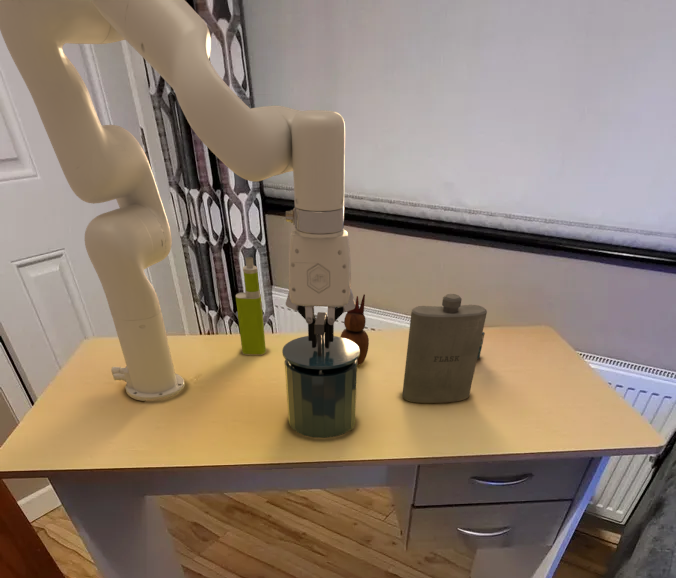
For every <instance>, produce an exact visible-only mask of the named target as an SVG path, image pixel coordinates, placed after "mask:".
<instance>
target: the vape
mask: <svg viewBox="0 0 676 578" xmlns="http://www.w3.org/2000/svg"><path fill="white" fill-rule="evenodd" d="M258 270H259V269H258V266H257V265H254V258H253V257H252V256H248V257H247V256H246V257H245V265H244V266H242V271H243V280H244V281H243V282H244V288H245V290H244V292H237V293H236V294H235V303H236V311H237V319H238V320H237V321H238V327H239V335H240V343H241V344H240V345H241V352H242V354H243V355H245V356H248V355H249V356H263V355H265V354H266V353H267V349H266V347H267V346H266V337H265V325H264V315H263V301H262V294H261V291H260V283H259V273H258Z"/></svg>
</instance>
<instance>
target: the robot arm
mask: <svg viewBox="0 0 676 578" xmlns="http://www.w3.org/2000/svg"><path fill="white" fill-rule="evenodd" d="M0 34H1V36H2V38H3V41H4V43H5V46H6V48H7V51H8V52H9V54H10V57H11V59H12V60H13V62H14V64H15V67H16V68H17V70H18V72H19V74H20V76H21V78H22V79H23V81H24V84H25V85H26V87H27V90H28V91H29V93H30V95H31V98H32V100H33V102H34V105H35V108H36V111H37V112H38V115H39V117H40V120H41V122H42V125H43V127H44V129H45V132H46V134H47V138H48V139H49V141H50V144H51V146H52V149H53V151H54V154H55V156H56V158H57V161H58V164H59V165H60V168H61V170H62V172H63V175H64V177H65V180H66V182H67V183H68V185H69V187H70V189H71V190H72V192H73V194H74V195H75V196H76V197H78V198H79V199H80V200H81V201H82V202H85V203H88V204H101V203H102V204H103V203H107V202H110V201H113V200H116V203H117V205H118V207H119V208H115V209H113V210H110V211H106V212H103V213H100V214H99V215H97V216H95V217H94V218H92V219H91V220H90V221H89V222H88V225H87V226H86V229H85V231H84V232H85V233H84V246H85V249H86V252H87V255H88V258H89V260H90V262H91V264H92V266H93V268H94V271H95V272H96V274H97V277H98V279H99V281H100V284H101V287H102V289H103V292H104V295H105V298H106V301H107V304H108V308H109V311H110V315H111V317H112V321H113V324H114V328H115V332H116V334H117V339H118V342H119V345H120V348H121V352H122V356H123V358H124V359H123V360H124V362H125V365H126V366H125V367H121V366H112V367H111V369H110V370H111V374H112V377H113V380H114V381H124V382H126V384H125V386H124V387H125V391H126V392H125V393H126V394H127V396H128V397H130V398H132V399H134V400H136V401H140V402H146V401H155V400H163V399H167V398H170V397H173V396H175V395H177V394H179V393H180V392H182V391H183V390H184V388H185V385H186V383H185V379H184V378H183V377H182V376H181V375H180V374H178V373H176V371H175V366H174V362H173V358H172V353H171V349H170V344H169V340H168V335H167V331H166V326H165V321H164V317H163V313H162V309H161V305H160V300H159V297H158V294H157V292H156V289H155V288H154V286H153V284H152V283H151V282H150V280H149V278H148V277H147V275H146V273H145V270H146V269H147V268H150V267H151V266H154V265H156V264H158V263H160V262H162V261H163V260H165V259H166V258H167V257H168V256H169V254H170V252H171V249H172V245H173V244H172V241H173V239H172V232H171V227H170V224H169V220H168V219H169V218H168V217H167V213H166V210H165V208H164V204H163V201H162V197H161V195H160V192H159V188H158V186H157V182H156V179H155V176H154V173H153V169H152V167H151V165H150V161H149V159H148V156H147V154H146V152H145V150H144V149H143V147H142V145H141V144H140V142H139V141H138V139H137V138H136V137H135V136H134V135H133V134H132V133H131V132H130V131H129V130H127V129H126V128H124V127H123V126H121V125H116V124H104V125H102V123H101V121H100V119H99V117H98V113H97V110H96V108H95V106H94V102H93V100H92V99H93V98H92V97H91V94H90V91H89V89H88V87H87V85H86V83H85V82H84V79H83V78H82V76H81V74H80V73H79V70H78V69H77V68H76V67H75V65H74V64H73V63H72V61H71V60H70V59H69V58H68V56H67V55H66V54H65V52H64V49H63V47H64V45H65V44H70V45H72V44H73V45H107V44H113V43H117V42H123V41H126V42H127V43H128V44H129V45H130V46H131V48H133V49H134V50H135V51H136V52H137V53H138V54H139V55H140V56H141V57H142V58H143V59H144V60H145V61H146V62H147V63H148V64H149V66H151V68H153V70H155V72H156V73H157V74H158V75H159V76H160V77H161V78H162V79H163V80H164V81H165V82H166V83H167V84H168V85H169V86H170V87H171V89H172V90H173V91H174V93H175V96H176V100H177V103H178V105H179V107H180V109H181V111H182V113H183V115H184V117H185V119H186V120H187V123H188V124H189V126H190V128H191V129H192V131H193V132H194V133H195V135H196V136H197V137H198V139H199V140H200V141H201V142H202V144H204V145H205V146H206V147H207V148H208V149H209V150H210V152H211V153H213V155H215V156H216V158H217V159H218V160H220V161H221V162H222V163H223V165H225V167H227V168H228V169H229V170H230V171H231V172H232V173H234V174H235V175H236V176H238V177H239V178H241V179H243V180H245V181H249V182H254V183H256V182H261V181H264V180H268V179H270V178H272V177H277V176H280V175H283V174H286V173H290V172H291V173H292V174H293V194H294V195H293V196H294V197H293V198H294V207H293V209H290V210H285V221H286V222H287V223H291V224H293V226H294V229H293V230H291V232H290V237H289V246H288V247H289V248H288V294H287V297H286V301H285V306H286V307H287V308H289V309H291V310H293V311H296V312H298V313H299V315H300V316H301V317H302V318H303V319H304V320H305V323H306V324H307V333H308V334H307V336H308V340H309V341H312V348H315V347H316V346H317V341H318V337H317V335H315V331H314V324H315V321H316V317H317V315H315V307H320V308H321V307H322V308H323V307H324V308H325V307H326V308H327V319H326V323H325V333H324V335H325V348H328V349H329V345H330V342H333V340H334V336H335V335H334V334H335V333H334V331H335V330H334V328H335V322H336V321H337V320H338V319H339V318H340V317H341V316H342V315H343V314H344V313H345V314H346V313H347V312H348V311H350V310H353V309H354V308H355V305H356V299H355V296H354V294H353V291H352V288H351V287H352V268H351V267H352V264H351V263H352V262H351V248H350V240H349V239H350V238H349V233H348V231H347V230H345V228H344V227H345V226H344V225H345V171H346V170H345V165H346V163H345V162H346V124H345V121H344V120H345V119H344V117H343V116H342V115H341V114H340V113H339V112H337V111H334V110H325V109H310V110H309V109H308V110H307V109H306V110H299V109H296V108H291V107H287V106H283V105H279V104H278V105H273V104H272V105H266V106H257V107H249V106H248V105H247V103H245V102H244V101H243V99H241V98H240V97H239V96H238V95H237V94H236V93H235V91H233V90H232V89H231V88H230V86H229V85H228V84H227V83H226V82H225V81H224V80H223V78H222V77H221V76H220V75H219V73H218V72H217V70H216V69H215V67H214V66H213V63H212V62H211V60H210V57H211V49H212V38H211V32H210V29H209V27H208V25H207V23H206V22H205V20H204V18H202V17H201V16H200V14H199V13H197V12H196V10H195V9H194V8H193V7H192V6H191V5H190V4H189V3H188V2H187V0H0Z"/></svg>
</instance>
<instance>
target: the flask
mask: <svg viewBox="0 0 676 578" xmlns="http://www.w3.org/2000/svg"><path fill="white" fill-rule="evenodd" d="M461 297H462V296H460V295H459V294H455V293H448V294H445V295H444V296H443V297H442V302H441V306H438V305H437V306H435V305H434V306H433V305H418V306H416V307H413V308H412V309H411V311H410V312H411V313H410V321H409V329H408V330H409V331H408V338H407V347H406V356H405V367H404V376H403V383H402V384H403V386H402V393H401V396H402V398H403V400H404V401H407V402H411V403H416V404H417V403H418V404H445V403H447V404H448V403H455V402H461V401H464V400H467V399H469V397H470V395H471V390H472V384H473V380H474V375H475V370H476V366H477V361H478V359H477V357H478V352H479V347H480V342H481V338H482V333H483V332H484V328H485V323H486V318H487V313H488V310H487V309H486V308H485V307H483V306H481V305H478V304H464V305H463V304H462V300H463V299H462V298H461Z"/></svg>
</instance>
